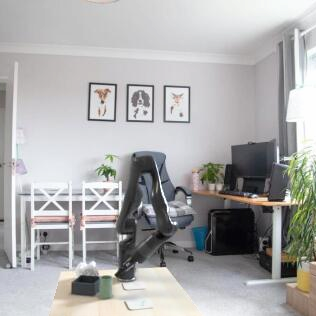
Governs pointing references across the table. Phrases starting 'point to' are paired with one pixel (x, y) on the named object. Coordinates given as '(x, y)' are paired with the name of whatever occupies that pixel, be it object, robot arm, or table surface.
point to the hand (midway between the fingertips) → (119, 273)
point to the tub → (85, 285)
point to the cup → (105, 287)
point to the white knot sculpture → (87, 269)
